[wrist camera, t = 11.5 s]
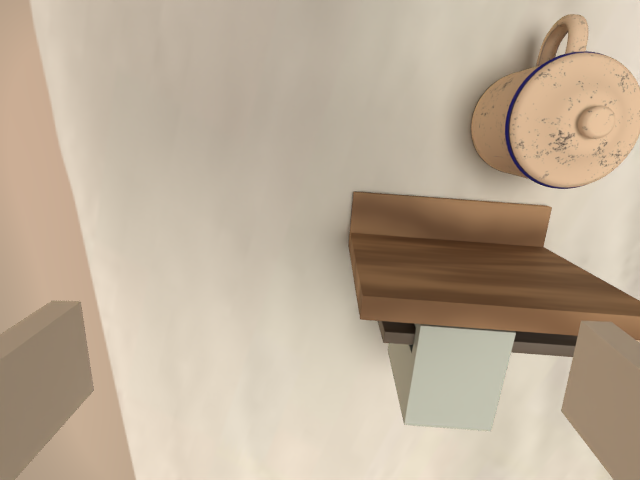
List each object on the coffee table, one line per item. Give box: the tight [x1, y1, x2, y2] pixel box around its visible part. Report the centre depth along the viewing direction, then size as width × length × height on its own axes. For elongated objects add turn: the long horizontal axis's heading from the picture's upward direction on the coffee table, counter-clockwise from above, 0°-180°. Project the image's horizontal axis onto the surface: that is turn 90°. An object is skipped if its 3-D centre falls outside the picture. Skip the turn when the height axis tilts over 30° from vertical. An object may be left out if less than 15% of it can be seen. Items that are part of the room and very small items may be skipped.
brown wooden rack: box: [349, 192, 640, 357], centre depth 32 cm, size 8×18×16 cm, turn 86°
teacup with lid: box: [471, 14, 640, 189], centre depth 31 cm, size 12×9×12 cm
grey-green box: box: [388, 323, 516, 431], centre depth 32 cm, size 9×6×9 cm
